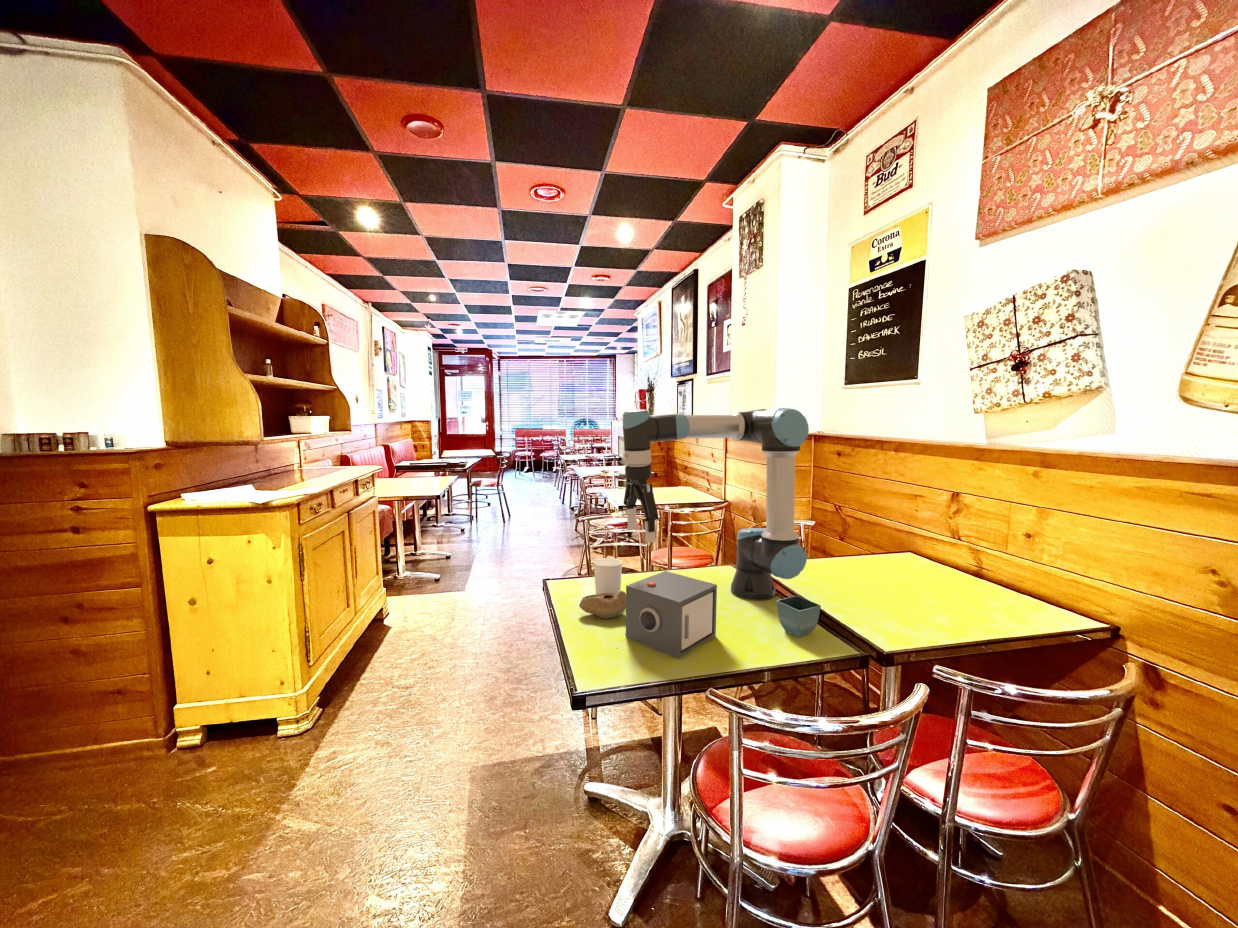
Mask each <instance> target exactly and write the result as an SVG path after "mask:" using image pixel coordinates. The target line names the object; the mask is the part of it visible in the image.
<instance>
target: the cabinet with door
mask: <svg viewBox="0 0 1238 928" xmlns="http://www.w3.org/2000/svg"><path fill="white" fill-rule="evenodd" d="M717 590H718V585H717V584H716V583H712V582H709V581H705V580H702V579H697V578H694V577H689V576H685V575H683V574H682V575H681V574H678V573H674V572H671V571H666V570H664V571H661V572H659V573H656V574H654V575H650V576H648V577H646V578H643V579H640V580H637V581H634V582H632V583H629V584H627V585H626V586H625V593H626V608H625V638H626V639H628V640H630V641H633V642H635V643H638V644H640V645H643V646H646V647H648V648H650V649H653V650H656V651H657V652H660V653H662V654H665V655H667V656H669V657H672V658H675V659H676V660H680V659H681V658H683V657H685V656H686V655H688V654H690V653H691V652H692V651H695V650H696V649H698V648H700V647H701V646H702V645H704V644H705V643H707V642H709V641H711V640H712V639H714V638H716V637H717V636H716V635H717V633H716V632H717V599H718V596H717V593H718V591H717ZM710 591H713V613H712V633H710V634H708V635H707V636H705V637H703V638H702V639H700V640H698V641H697V642H695V643H693V644H692V645H690V646H688V647H687V648H685V649H683V650H681V613H682V605H683V604H685V603H687V602H689V601H691V600H693V599H696V598H698V597H700V596H702V595H704V594H706V593H708V592H710Z"/></svg>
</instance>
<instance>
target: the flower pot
mask: <svg viewBox="0 0 1238 928" xmlns="http://www.w3.org/2000/svg"><path fill="white" fill-rule="evenodd" d="M821 606H822V605H820V603H819V604H818V603H816V602H814V601H811V600H809V599H806V598H804V597H801V596H800V595H793V596H790V597H786V598H781V599H777V600H776V608H777V616H778V619H779V623H780V625H781V627H782V629H783V630H784V631H785V632H787V633H788V634H790V635H792V636H795V637H796V638H801V637H804V636H807V635H810V634H811V633H812V632H813V631H814V630H815V628H816V626H817V625H818V623H819V618H820V613H821Z"/></svg>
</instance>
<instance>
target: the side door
mask: <svg viewBox="0 0 1238 928" xmlns="http://www.w3.org/2000/svg"><path fill="white" fill-rule="evenodd" d="M712 613H713V591H710V592H708V593H706V594H704V595H702V596H700V597H698V598H696V599H693V600H691V601H689V602H687V603H685V604H683V605H682V613H681V650H683V649H685V648H687V647H688V646H690V645H692V644H693V643H695V642H697V641H698V640H700V639H702V638H703V637H705V636H707V635H708V634H710V633H712Z"/></svg>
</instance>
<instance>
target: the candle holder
mask: <svg viewBox="0 0 1238 928" xmlns="http://www.w3.org/2000/svg"><path fill="white" fill-rule="evenodd" d="M593 567H594V581H595V583H594V584H595V586H594V587H595V594H602V593H614V594H617V595H618V594H619V592H620V591H621V589H622V587H621V586H622V570H623V560H621V559H618V558H615V557H603V558H598V559H596V560H594V561H593Z"/></svg>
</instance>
